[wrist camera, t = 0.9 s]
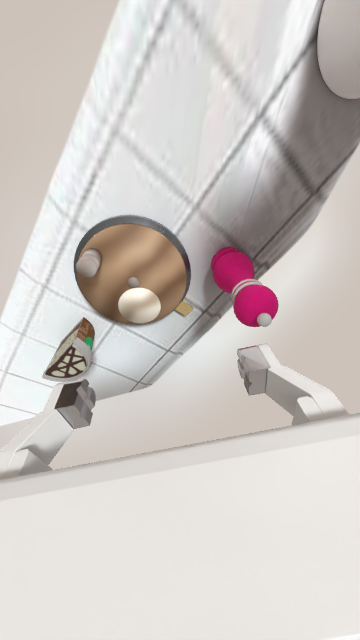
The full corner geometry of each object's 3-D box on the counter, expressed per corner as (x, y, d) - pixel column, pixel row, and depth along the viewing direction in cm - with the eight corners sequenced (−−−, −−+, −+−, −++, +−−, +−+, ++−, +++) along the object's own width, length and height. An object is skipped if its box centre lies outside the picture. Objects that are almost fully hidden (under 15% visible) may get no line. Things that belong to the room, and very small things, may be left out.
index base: (112, 184, 35) (111, 184, 34) (223, 273, 46) (224, 275, 45) (56, 285, 44) (54, 288, 44) (159, 340, 55) (159, 343, 54)
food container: (81, 357, 56) (69, 391, 48) (58, 345, 53) (40, 378, 45) (111, 327, 52) (102, 359, 44) (87, 313, 49) (73, 344, 41)
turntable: (207, 268, 44) (213, 284, 38) (148, 334, 52) (147, 354, 47) (113, 195, 35) (106, 202, 30) (61, 287, 43) (48, 306, 38)
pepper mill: (243, 277, 47) (289, 341, 31) (209, 281, 47) (237, 348, 31) (246, 242, 43) (301, 295, 26) (208, 247, 42) (240, 303, 26)
